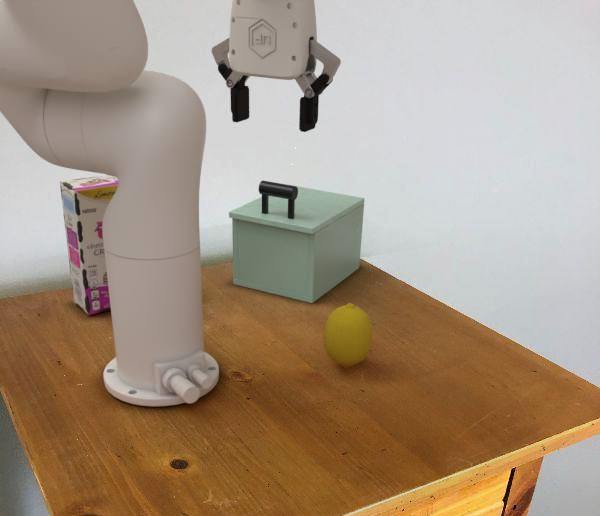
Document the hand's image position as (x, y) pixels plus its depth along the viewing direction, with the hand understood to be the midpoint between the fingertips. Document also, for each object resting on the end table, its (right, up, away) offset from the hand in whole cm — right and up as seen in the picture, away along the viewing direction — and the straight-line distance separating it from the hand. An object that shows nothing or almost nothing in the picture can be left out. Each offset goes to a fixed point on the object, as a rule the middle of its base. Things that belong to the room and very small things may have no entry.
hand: (273, 125), depth 95 cm
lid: (+3, -8, +10) cm, 14 cm away
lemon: (+9, -31, -8) cm, 33 cm away
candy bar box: (-21, -22, +6) cm, 31 cm away
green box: (+3, -17, +16) cm, 23 cm away
